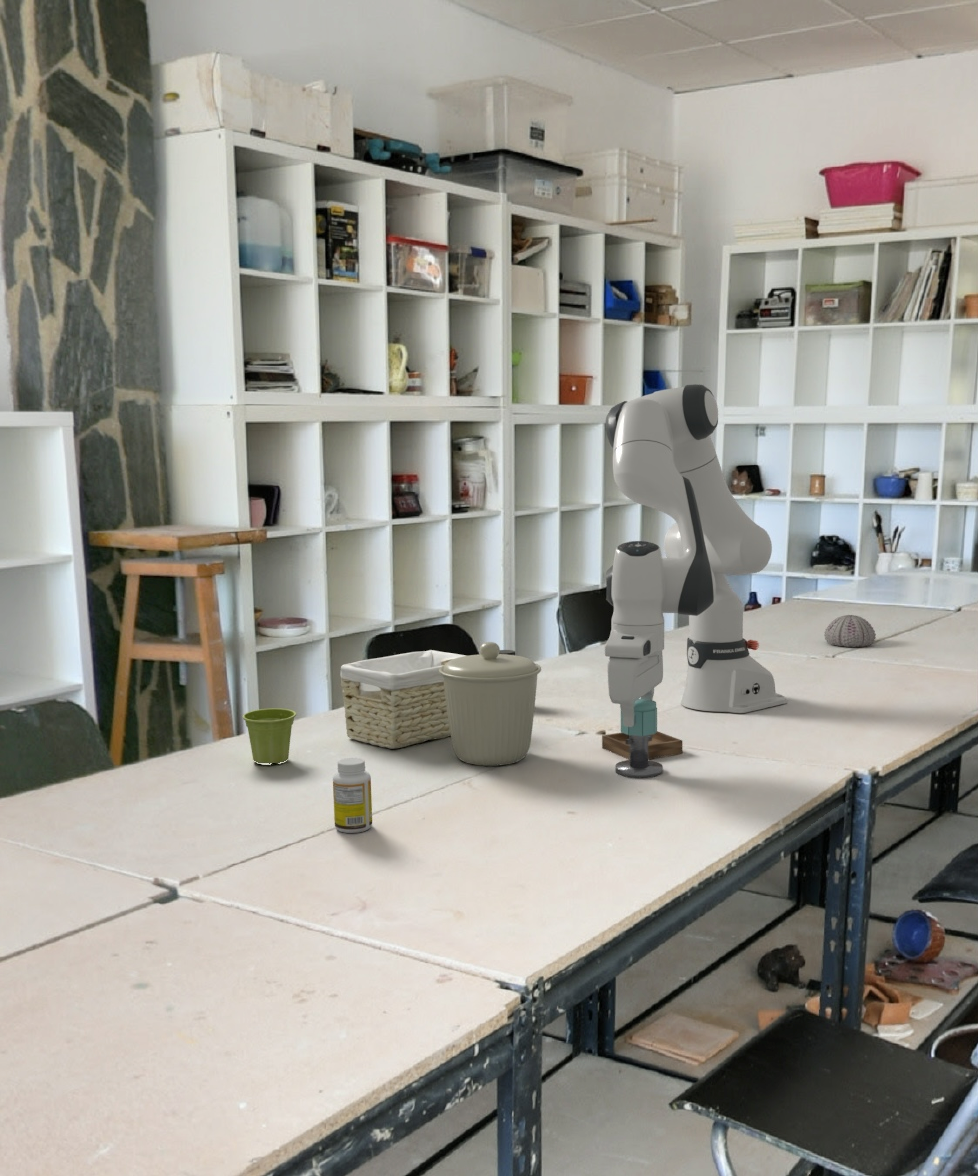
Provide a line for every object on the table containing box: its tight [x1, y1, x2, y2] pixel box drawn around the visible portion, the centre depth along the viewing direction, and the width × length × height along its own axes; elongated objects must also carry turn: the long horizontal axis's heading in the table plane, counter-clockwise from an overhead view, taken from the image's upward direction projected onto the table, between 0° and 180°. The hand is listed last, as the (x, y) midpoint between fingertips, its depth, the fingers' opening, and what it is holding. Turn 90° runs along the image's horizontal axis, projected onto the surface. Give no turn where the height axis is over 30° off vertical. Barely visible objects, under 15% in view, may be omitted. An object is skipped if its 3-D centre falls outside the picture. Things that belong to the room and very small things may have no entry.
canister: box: [439, 641, 542, 767], centre depth 212 cm, size 18×18×21 cm
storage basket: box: [340, 649, 466, 750], centre depth 231 cm, size 24×16×15 cm
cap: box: [620, 698, 658, 736], centre depth 203 cm, size 6×6×5 cm
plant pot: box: [242, 708, 297, 764], centre depth 214 cm, size 9×9×9 cm
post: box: [614, 735, 664, 779], centre depth 203 cm, size 8×8×11 cm
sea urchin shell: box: [823, 614, 877, 648], centre depth 321 cm, size 13×14×8 cm
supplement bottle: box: [332, 757, 373, 834], centre depth 176 cm, size 6×6×10 cm
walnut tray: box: [601, 730, 683, 760], centre depth 217 cm, size 10×10×2 cm
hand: (637, 719), depth 203 cm, fingers open, 8 cm apart
